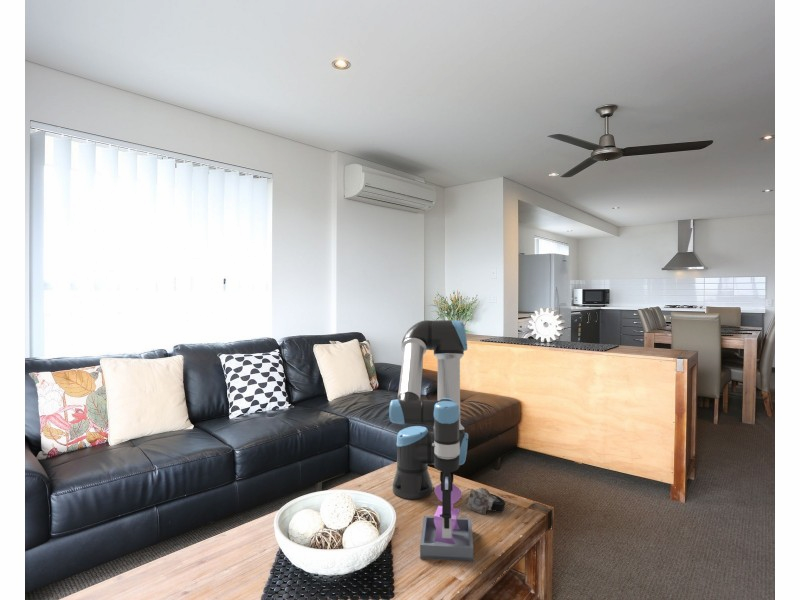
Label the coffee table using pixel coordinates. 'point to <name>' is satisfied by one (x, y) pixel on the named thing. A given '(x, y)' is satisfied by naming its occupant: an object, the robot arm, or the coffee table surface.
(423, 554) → the tray
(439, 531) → the toy chair
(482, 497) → the grey brown rock
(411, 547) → the coffee table surface
